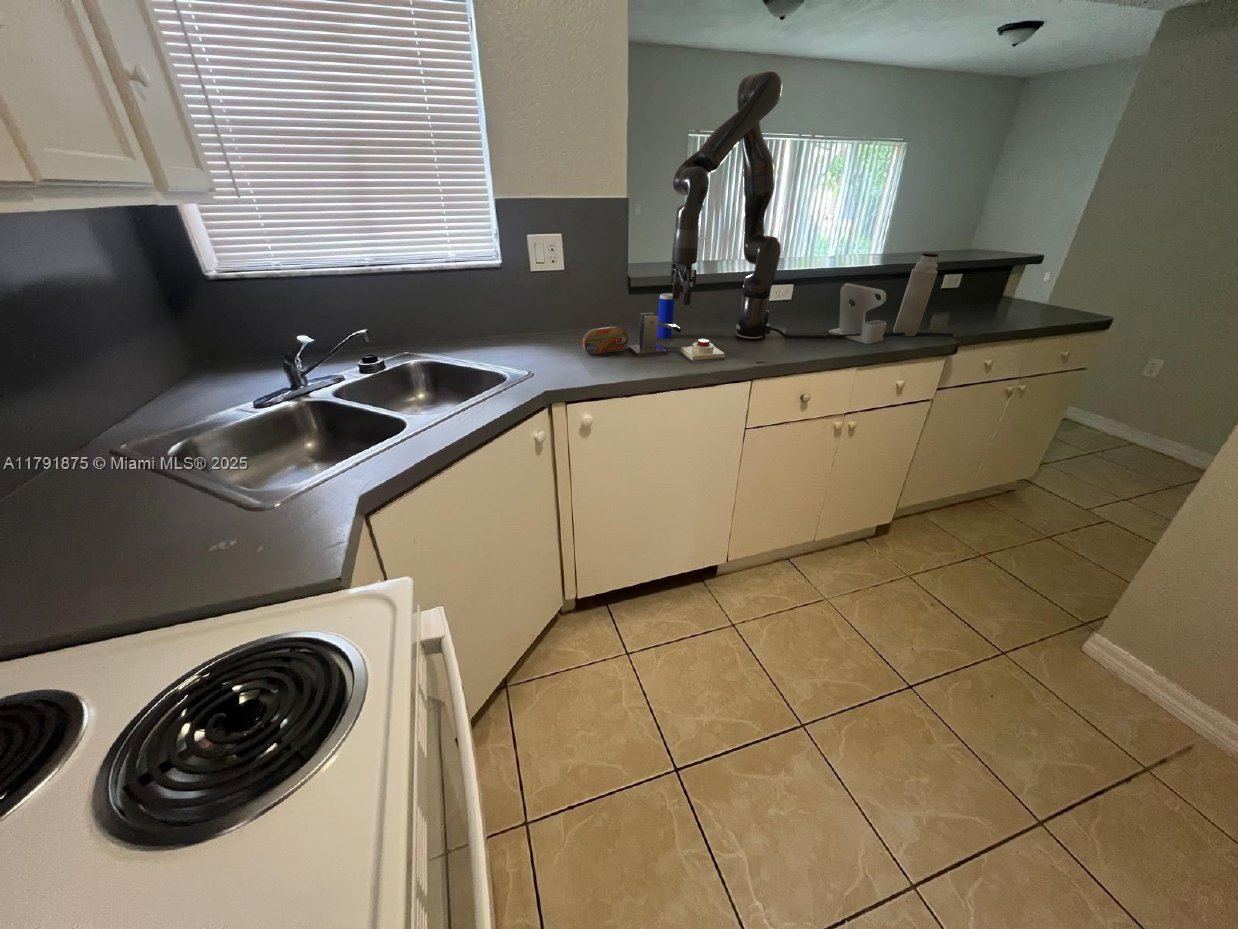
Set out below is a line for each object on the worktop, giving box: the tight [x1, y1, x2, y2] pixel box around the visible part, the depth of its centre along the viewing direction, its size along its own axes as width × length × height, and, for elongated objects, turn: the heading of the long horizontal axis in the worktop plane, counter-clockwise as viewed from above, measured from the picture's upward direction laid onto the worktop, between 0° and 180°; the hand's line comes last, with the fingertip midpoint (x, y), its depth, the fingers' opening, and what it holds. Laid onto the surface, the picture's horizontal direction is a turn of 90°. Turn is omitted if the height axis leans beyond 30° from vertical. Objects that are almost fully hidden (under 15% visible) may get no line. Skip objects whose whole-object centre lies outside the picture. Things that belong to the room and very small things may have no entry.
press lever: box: [643, 315, 682, 333], centre depth 154 cm, size 12×5×2 cm, turn 109°
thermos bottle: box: [892, 252, 939, 337], centre depth 176 cm, size 8×8×28 cm
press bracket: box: [628, 312, 667, 355], centre depth 155 cm, size 10×8×12 cm
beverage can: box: [657, 292, 676, 340], centre depth 167 cm, size 5×5×15 cm
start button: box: [697, 338, 711, 347], centre depth 152 cm, size 4×4×2 cm
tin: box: [582, 325, 629, 356], centre depth 152 cm, size 15×3×8 cm, turn 117°
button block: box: [680, 341, 726, 361], centre depth 153 cm, size 11×9×4 cm
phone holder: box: [828, 282, 887, 345], centre depth 174 cm, size 17×10×18 cm, turn 34°
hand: (680, 301), depth 152 cm, fingers open, 8 cm apart
